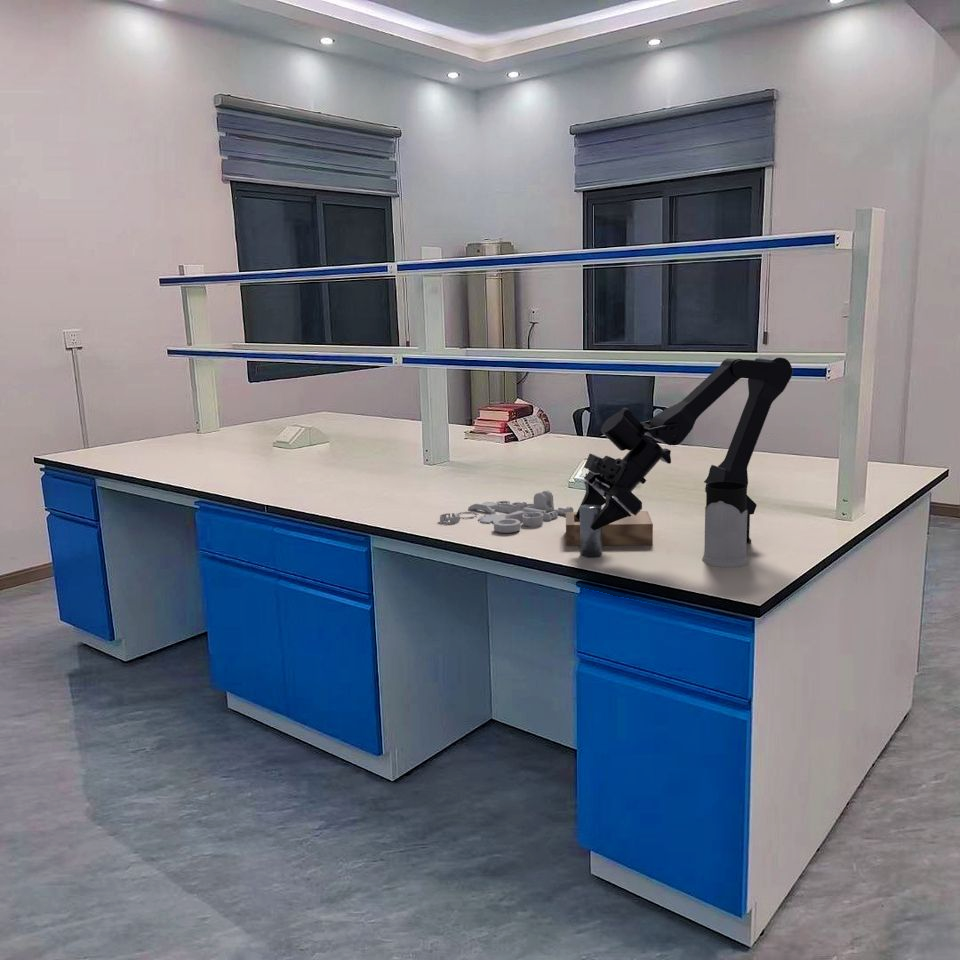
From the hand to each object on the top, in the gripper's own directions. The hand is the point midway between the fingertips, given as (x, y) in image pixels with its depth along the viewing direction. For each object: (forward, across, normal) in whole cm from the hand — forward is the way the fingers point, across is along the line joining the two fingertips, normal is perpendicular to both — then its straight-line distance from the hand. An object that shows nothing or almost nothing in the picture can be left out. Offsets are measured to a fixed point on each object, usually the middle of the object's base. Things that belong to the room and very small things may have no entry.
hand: (584, 523), depth 174 cm
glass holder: (-14, +10, +24) cm, 29 cm away
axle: (+4, 0, +6) cm, 7 cm away
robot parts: (+11, -36, 0) cm, 37 cm away
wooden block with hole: (-2, -10, +11) cm, 15 cm away
